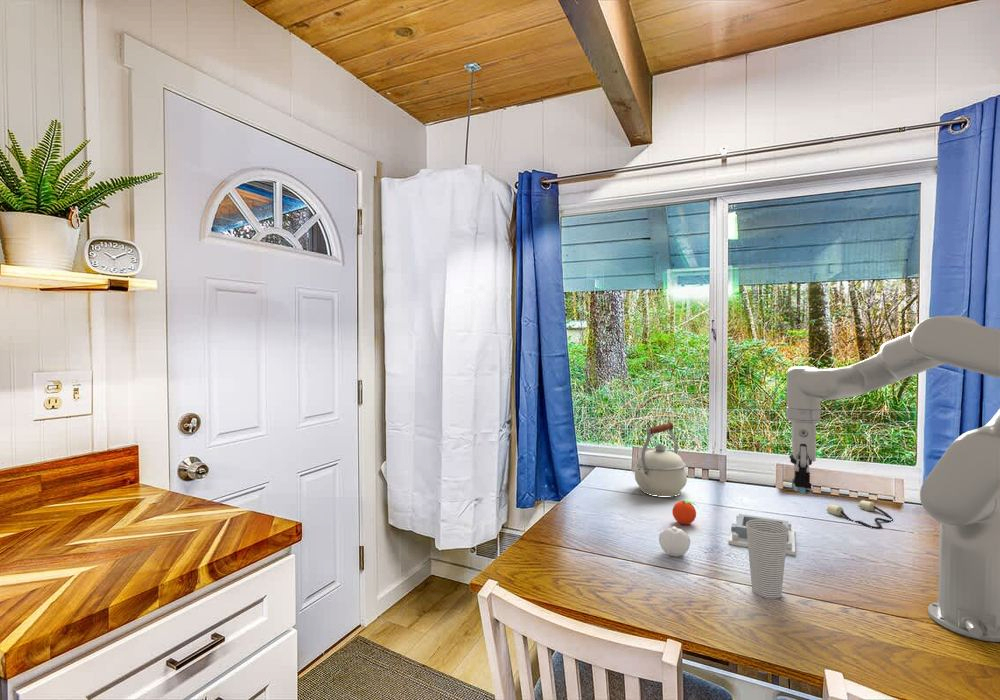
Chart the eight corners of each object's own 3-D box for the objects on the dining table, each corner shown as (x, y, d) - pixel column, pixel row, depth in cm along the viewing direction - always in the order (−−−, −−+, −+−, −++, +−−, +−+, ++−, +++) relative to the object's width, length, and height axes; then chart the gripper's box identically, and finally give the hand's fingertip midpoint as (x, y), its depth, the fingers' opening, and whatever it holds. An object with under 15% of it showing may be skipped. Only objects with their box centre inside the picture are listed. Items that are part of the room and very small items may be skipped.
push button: (821, 495, 127) (822, 456, 127) (801, 496, 127) (802, 457, 126) (803, 487, 134) (803, 450, 133) (784, 488, 133) (784, 451, 133)
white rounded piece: (689, 550, 137) (689, 522, 137) (691, 563, 130) (691, 533, 129) (658, 547, 139) (658, 520, 139) (659, 560, 132) (659, 531, 132)
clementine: (696, 519, 159) (696, 497, 159) (702, 528, 152) (702, 505, 152) (670, 519, 160) (669, 497, 159) (675, 527, 153) (675, 504, 152)
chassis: (795, 555, 133) (795, 540, 133) (728, 543, 141) (728, 529, 141) (793, 531, 148) (794, 517, 148) (734, 521, 156) (734, 509, 156)
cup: (750, 579, 121) (750, 515, 120) (791, 590, 115) (791, 524, 115) (741, 594, 114) (741, 527, 114) (783, 606, 109) (784, 536, 108)
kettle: (655, 480, 200) (655, 418, 199) (699, 491, 186) (698, 424, 185) (616, 494, 184) (616, 426, 183) (660, 507, 170) (660, 434, 169)
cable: (912, 524, 153) (912, 513, 153) (872, 532, 148) (872, 520, 148) (862, 507, 168) (863, 497, 168) (824, 513, 163) (824, 503, 163)
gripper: (822, 421, 121) (821, 496, 122) (818, 410, 136) (816, 476, 136) (786, 419, 124) (785, 491, 125) (786, 408, 139) (784, 473, 140)
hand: (801, 483), depth 131 cm, fingers closed on push button, 5 cm apart
